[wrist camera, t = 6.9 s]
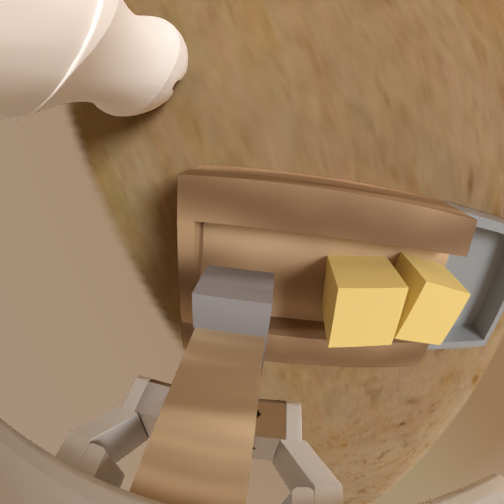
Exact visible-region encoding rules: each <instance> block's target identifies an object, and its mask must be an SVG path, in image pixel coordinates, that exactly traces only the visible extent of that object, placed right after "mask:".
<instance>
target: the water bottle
mask: <svg viewBox="0 0 504 504" xmlns="http://www.w3.org/2000/svg"><path fill="white" fill-rule="evenodd" d="M187 66H188V53H187V47H186V44H185V42H184V40H183V37H182V36H181V34H180V33H179V32H178V30H177V29H176V28H175V27H174V26H173V25H172V24H170V23H169V22H168V21H166V20H164V19H161V18H158V17H154V16H137V15H135V14H133V13H132V12H131V11H130V10H129V8H128V7H127V6H126V4H125V2H124V1H123V0H0V119H4V118H7V119H11V120H21V119H23V118H25V117H28V116H30V115H32V114H34V113H36V112H39V111H41V110H44V109H47V108H50V107H53V106H56V105H61V104H66V103H72V102H90V103H94V104H95V106H97V107H98V108H99V109H100V110H102V111H103V112H105V113H107V114H110V115H113V116H134V115H139V114H142V113H145V112H148V111H151V110H153V109H155V108H157V107H159V106H160V105H162V104H163V103H164V102H166V101H167V100H169V98H170V97H171V95H172V94H173V86H174V84H175V83H176V82H177V81H178V80H181V79H182V78H183V76H184V75H185V73H186V71H187Z"/></svg>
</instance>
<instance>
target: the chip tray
mask: <svg viewBox="0 0 504 504" xmlns="http://www.w3.org/2000/svg"><path fill="white" fill-rule="evenodd" d="M444 202H446V201H444ZM446 203H448V204H449V205H451V206H453V207H455V208H457V209H459V210H460V211H462V212H464V213H466V214H468V215H469V216H471V217H473V218H474V219H476V220H478V221H477V225H476V228H475V232H474V235H473V239H472V242H471V245H470V249H469V252H468V255H467V257H464V256H458V255H452V254H450V255H449V258H448V261H447V264H446V268H447V269H448V270H449V271H450V272H451V273H452V275H453V276H454V277H455V278H456V279H457V280H458V281H459V282H460V283H461V284H462V285H463V286H464V287H465V288H466V289H467V290H468V292H469V293H470V294H471V295H470V297H469V299H468V301H467V302H466V304H465V306H464V308H463V310H462V311H461V313H460V315H459V316H458V318H457V320H456V321H455V323H454V325H453V326H452V328H451V330H450V331H449V333H448V334H447V336H446V337H445V339H444V340H443V342H442V343H441V345H436V344H429V346H428V348H427V349H426V350H428V349H451V348H467V347H479V346H485V344H486V343H487V341H488V339H489V337H490V336H491V334H492V332H493V330H494V328H495V326H496V324H497V323H498V321H499V319H500V317H501V315H502V313H503V311H504V219H503V218H500V217H497V216H494V215H491V214H488V213H485V212H481V211H478V210H475V209H471V208H468V207H464V206H461V205H457V204H454V203H450V202H446Z"/></svg>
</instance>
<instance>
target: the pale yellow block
mask: <svg viewBox="0 0 504 504" xmlns="http://www.w3.org/2000/svg"><path fill="white" fill-rule="evenodd" d="M408 288H409V287H408V286H407V284H406V283H405V282H404V280H403V279H402V277H401V276H400V275H399V273H398V272H397V270H396V269H395V268H394V266H393V265H392V264H391V262H390V261H389V260H388V258H387V257H386V256H338V255H327V264H326V274H325V283H324V291H323V300H322V308H321V309H322V315H323V320H324V326H325V331H326V337H327V343H328V348H331V347H362V346H380V345H391V344H392V341H393V338H394V336H395V333H396V329H397V326H398V323H399V320H400V317H401V313H402V310H403V307H404V303H405V300H406V296H407V292H408Z"/></svg>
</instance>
